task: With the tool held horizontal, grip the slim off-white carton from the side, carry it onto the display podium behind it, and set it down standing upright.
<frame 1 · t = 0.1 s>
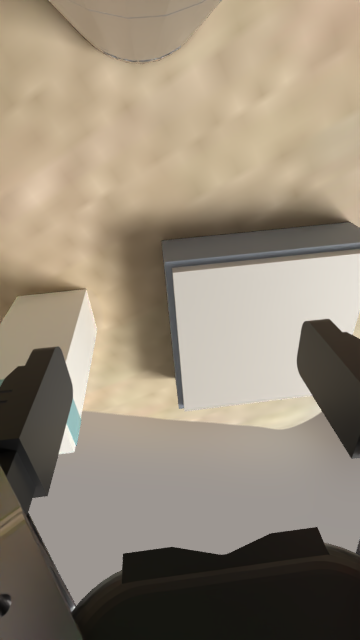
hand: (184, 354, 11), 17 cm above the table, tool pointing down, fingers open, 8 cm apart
carton: (59, 313, 29), on the table
podium: (250, 311, 31), on the table
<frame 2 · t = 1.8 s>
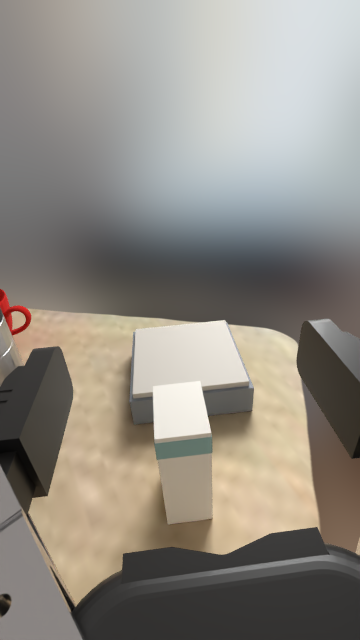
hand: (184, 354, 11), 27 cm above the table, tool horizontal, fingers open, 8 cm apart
carton: (187, 492, 35), on the table
podium: (186, 377, 50), on the table
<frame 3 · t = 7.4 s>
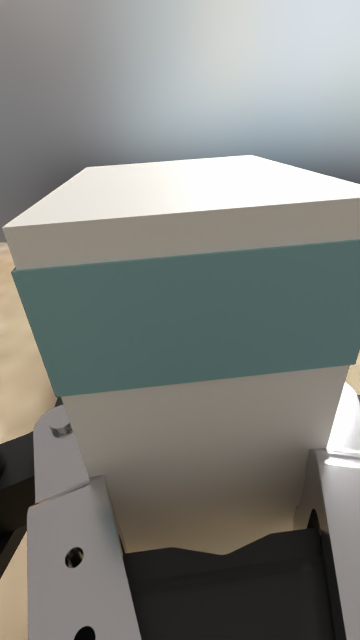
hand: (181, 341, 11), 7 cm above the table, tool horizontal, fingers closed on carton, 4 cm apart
carton: (199, 525, 13), on the table, touching gripper
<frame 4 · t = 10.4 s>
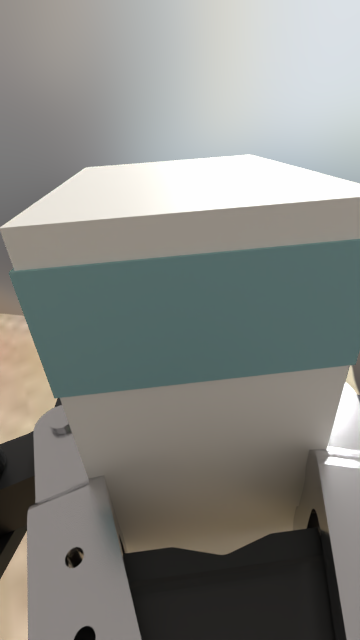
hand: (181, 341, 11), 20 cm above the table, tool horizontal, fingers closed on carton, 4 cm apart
carton: (199, 525, 13), point 13 cm above the table, touching gripper
when the fingers open (13 cm above the table, at t = 13.7 s): carton stays where it is, resting on podium.
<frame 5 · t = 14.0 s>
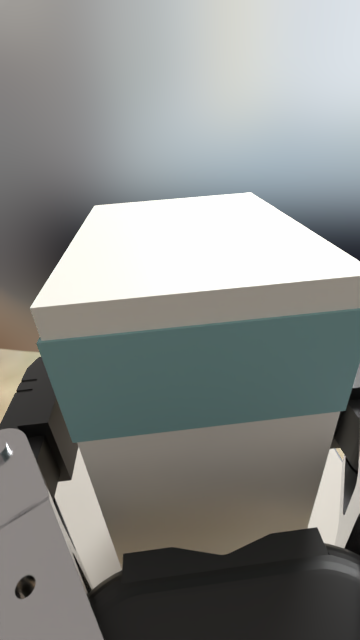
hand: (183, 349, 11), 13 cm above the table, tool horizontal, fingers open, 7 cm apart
carton: (201, 538, 13), point 5 cm above the table, touching podium
podium: (202, 587, 16), on the table
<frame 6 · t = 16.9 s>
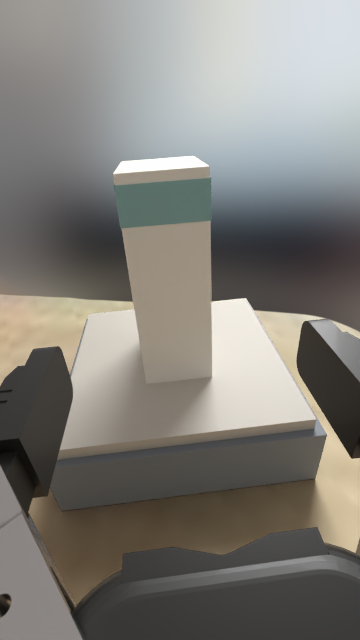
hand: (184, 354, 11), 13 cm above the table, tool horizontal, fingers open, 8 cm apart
carton: (175, 353, 24), point 5 cm above the table, touching podium
podium: (179, 401, 27), on the table
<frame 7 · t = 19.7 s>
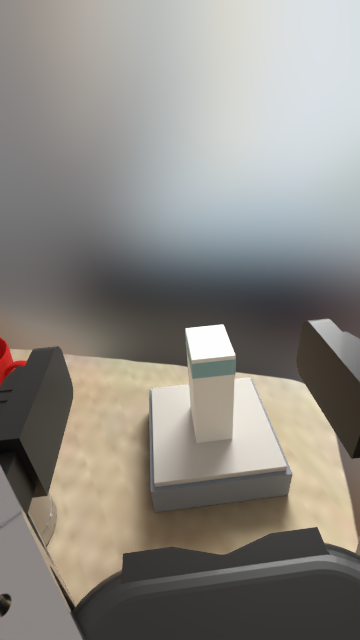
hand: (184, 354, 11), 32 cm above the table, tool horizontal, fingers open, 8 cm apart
carton: (210, 421, 42), point 5 cm above the table, touching podium
podium: (210, 446, 45), on the table
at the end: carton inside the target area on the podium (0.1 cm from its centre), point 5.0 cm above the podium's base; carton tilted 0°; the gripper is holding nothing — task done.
